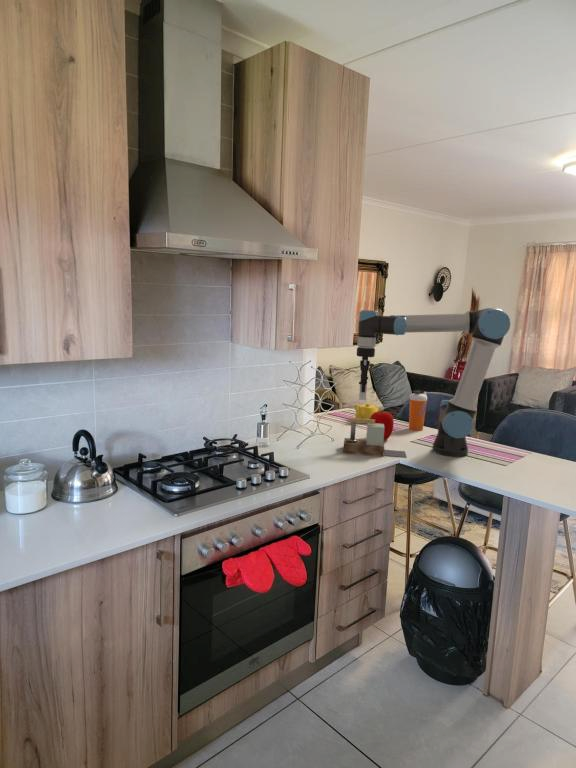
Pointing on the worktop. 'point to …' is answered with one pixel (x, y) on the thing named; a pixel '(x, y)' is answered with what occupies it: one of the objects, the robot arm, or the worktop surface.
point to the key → (353, 426)
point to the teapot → (365, 411)
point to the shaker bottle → (417, 410)
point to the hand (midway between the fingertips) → (362, 397)
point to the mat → (395, 453)
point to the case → (362, 448)
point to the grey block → (375, 434)
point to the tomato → (384, 422)
